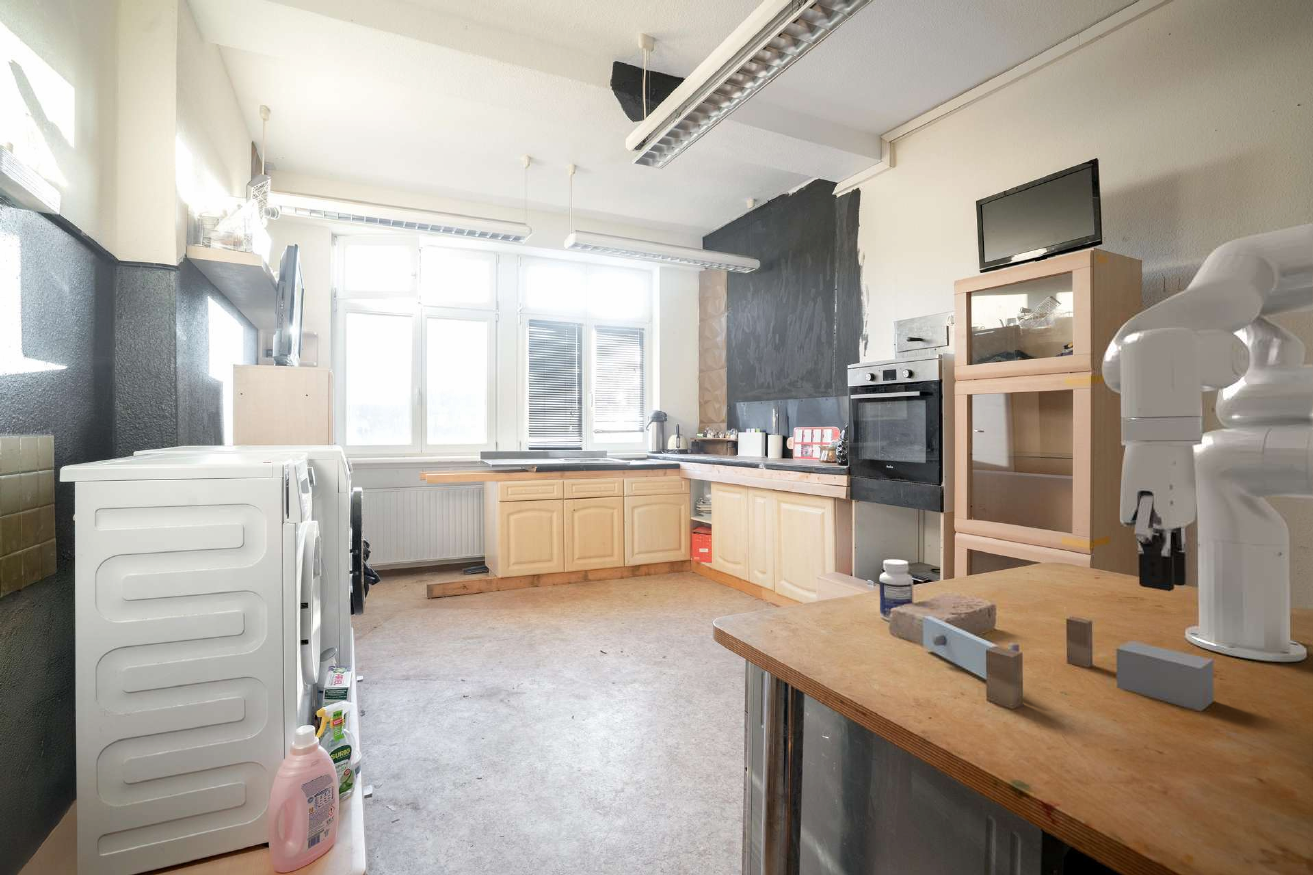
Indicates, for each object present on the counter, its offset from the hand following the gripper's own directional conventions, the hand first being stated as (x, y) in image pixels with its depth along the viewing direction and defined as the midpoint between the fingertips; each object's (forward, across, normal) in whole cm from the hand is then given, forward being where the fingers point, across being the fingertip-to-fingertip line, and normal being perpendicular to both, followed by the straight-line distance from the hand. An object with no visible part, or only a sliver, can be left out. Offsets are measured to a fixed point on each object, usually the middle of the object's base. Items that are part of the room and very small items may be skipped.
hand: (1162, 584), depth 73 cm
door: (+13, +13, -17) cm, 25 cm away
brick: (+14, -1, -28) cm, 32 cm away
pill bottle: (+13, -1, -37) cm, 39 cm away
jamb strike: (+13, -3, -10) cm, 17 cm away
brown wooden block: (+13, +17, -10) cm, 24 cm away
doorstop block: (+13, 0, 0) cm, 13 cm away
